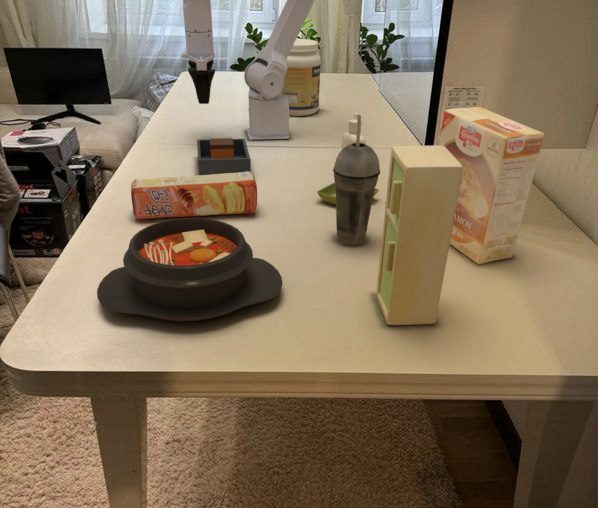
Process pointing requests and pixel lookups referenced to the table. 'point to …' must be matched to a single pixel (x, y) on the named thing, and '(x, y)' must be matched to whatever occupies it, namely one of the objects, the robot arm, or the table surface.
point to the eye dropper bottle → (352, 133)
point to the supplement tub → (302, 78)
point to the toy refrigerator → (417, 232)
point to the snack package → (194, 195)
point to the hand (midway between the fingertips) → (203, 99)
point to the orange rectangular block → (222, 148)
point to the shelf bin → (223, 165)
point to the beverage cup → (354, 189)
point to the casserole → (188, 272)
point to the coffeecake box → (489, 179)
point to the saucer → (332, 193)
